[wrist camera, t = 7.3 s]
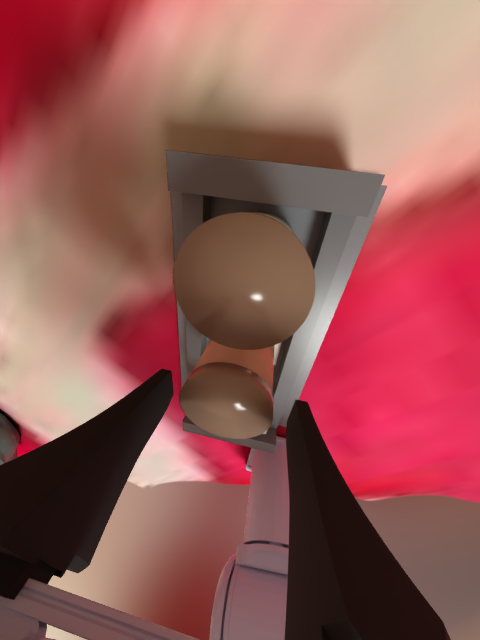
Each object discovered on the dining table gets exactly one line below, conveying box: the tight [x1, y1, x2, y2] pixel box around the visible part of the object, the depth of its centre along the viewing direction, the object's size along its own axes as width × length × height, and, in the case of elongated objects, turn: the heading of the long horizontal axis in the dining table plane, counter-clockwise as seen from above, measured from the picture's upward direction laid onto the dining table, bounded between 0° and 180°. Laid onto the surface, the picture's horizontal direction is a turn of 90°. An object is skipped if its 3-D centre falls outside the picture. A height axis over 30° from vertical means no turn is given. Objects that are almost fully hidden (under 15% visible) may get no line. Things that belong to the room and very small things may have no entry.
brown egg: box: [173, 211, 315, 350], centre depth 10 cm, size 5×5×7 cm
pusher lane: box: [166, 150, 387, 453], centre depth 15 cm, size 22×12×4 cm, turn 173°
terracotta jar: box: [179, 340, 275, 439], centre depth 13 cm, size 5×5×7 cm
